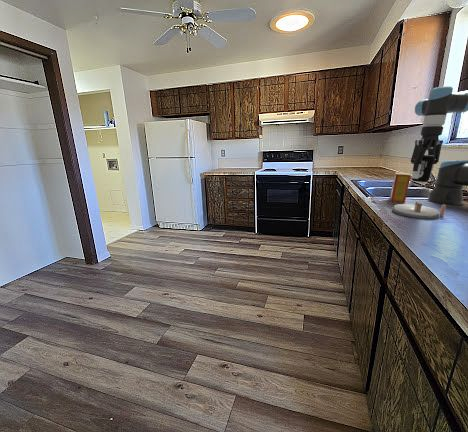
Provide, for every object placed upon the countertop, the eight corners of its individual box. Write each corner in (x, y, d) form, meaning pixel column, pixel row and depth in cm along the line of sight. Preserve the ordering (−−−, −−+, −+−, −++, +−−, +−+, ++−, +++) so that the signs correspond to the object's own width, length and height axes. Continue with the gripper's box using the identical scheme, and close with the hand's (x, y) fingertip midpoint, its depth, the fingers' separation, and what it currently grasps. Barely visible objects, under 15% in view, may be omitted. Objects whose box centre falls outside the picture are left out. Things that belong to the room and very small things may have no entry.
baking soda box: (404, 203, 135) (410, 174, 130) (390, 201, 138) (396, 173, 133) (402, 199, 143) (408, 172, 138) (389, 198, 146) (395, 171, 141)
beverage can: (431, 182, 111) (438, 155, 108) (415, 181, 113) (421, 155, 109) (424, 180, 117) (430, 154, 114) (408, 179, 119) (414, 154, 115)
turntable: (392, 205, 126) (395, 194, 125) (434, 209, 118) (436, 198, 117) (394, 213, 112) (396, 201, 111) (441, 218, 104) (444, 206, 103)
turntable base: (391, 206, 127) (393, 196, 126) (438, 212, 118) (441, 201, 116) (392, 215, 112) (395, 203, 111) (447, 222, 103) (450, 209, 102)
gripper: (440, 127, 114) (428, 176, 120) (407, 126, 109) (397, 177, 116) (458, 126, 107) (444, 178, 114) (424, 125, 102) (412, 180, 109)
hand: (420, 178), depth 115 cm, fingers closed on beverage can, 6 cm apart
